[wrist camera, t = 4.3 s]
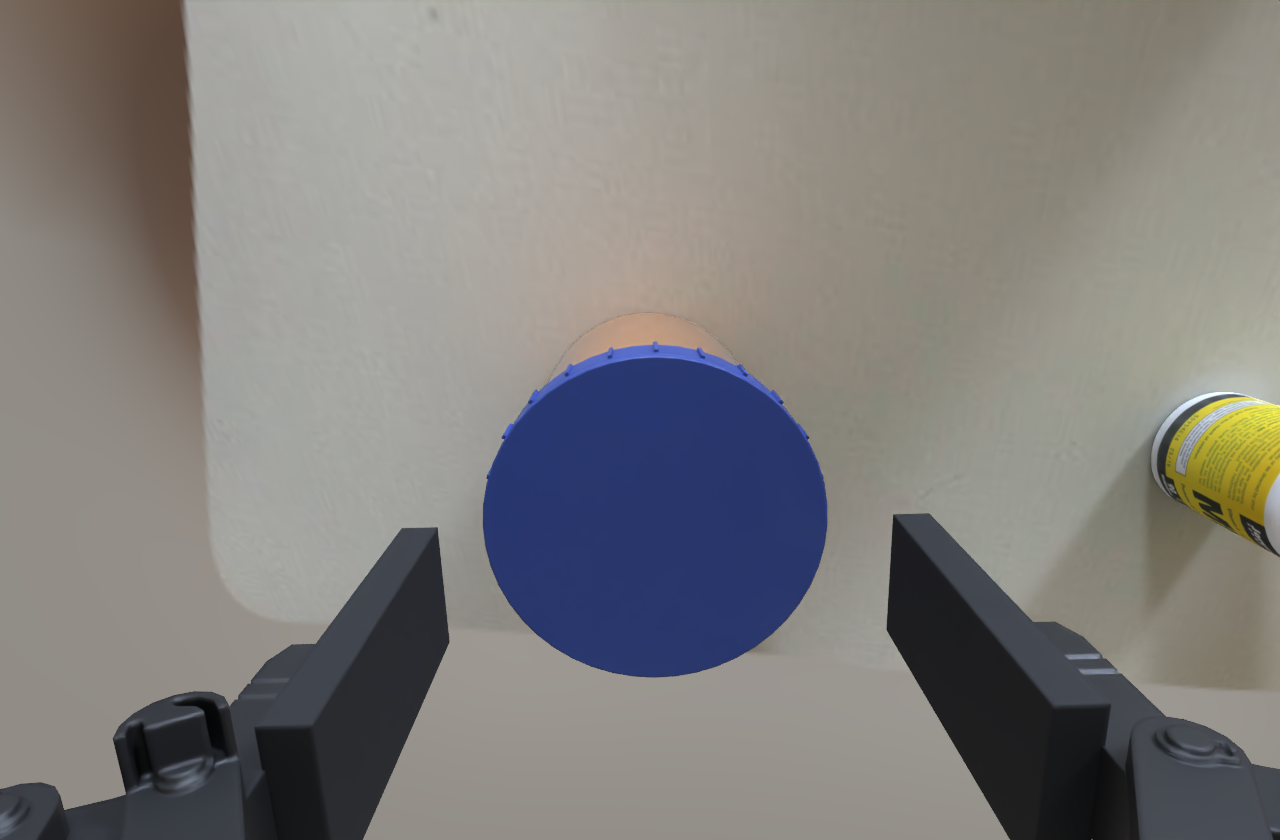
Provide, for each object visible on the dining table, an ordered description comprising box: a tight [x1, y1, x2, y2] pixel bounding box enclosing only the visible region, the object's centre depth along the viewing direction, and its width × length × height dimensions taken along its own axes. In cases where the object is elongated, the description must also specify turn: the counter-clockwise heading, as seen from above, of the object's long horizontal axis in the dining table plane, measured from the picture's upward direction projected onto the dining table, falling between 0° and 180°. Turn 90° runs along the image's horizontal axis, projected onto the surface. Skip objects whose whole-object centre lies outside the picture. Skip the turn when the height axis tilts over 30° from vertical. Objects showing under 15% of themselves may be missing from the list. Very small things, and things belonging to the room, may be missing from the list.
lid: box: [483, 342, 827, 677], centre depth 20 cm, size 9×9×2 cm
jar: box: [548, 313, 738, 383], centre depth 25 cm, size 8×8×10 cm
